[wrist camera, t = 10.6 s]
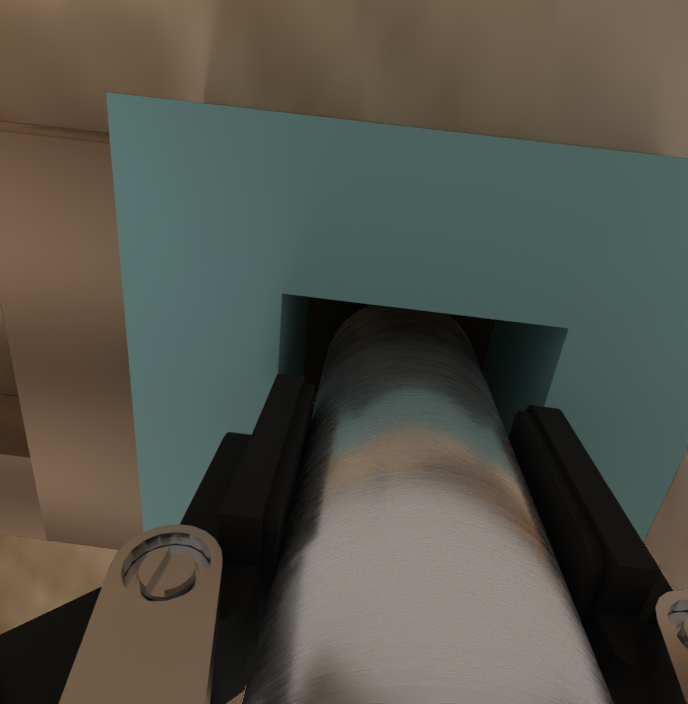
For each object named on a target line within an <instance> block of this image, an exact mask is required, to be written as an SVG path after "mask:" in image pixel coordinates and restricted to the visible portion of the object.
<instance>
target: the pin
mask: <svg viewBox="0 0 688 704" xmlns="http://www.w3.org/2000/svg"><path fill="white" fill-rule="evenodd" d="M242 704H614V703H613V700H612V698H611V695H610V693H609V690H608V688H607V685H606V683H605V680H604V678H603V675H602V673H601V670H600V668H599V665H598V662H597V660H596V657H595V655H594V652H593V650H592V647H591V645H590V642H589V640H588V637H587V635H586V632H585V630H584V627H583V625H582V622H581V620H580V617H579V615H578V612H577V610H576V607H575V605H574V602H573V600H572V597H571V594H570V592H569V589H568V587H567V584H566V582H565V579H564V577H563V574H562V572H561V569H560V567H559V564H558V562H557V559H556V557H555V554H554V552H553V549H552V547H551V544H550V542H549V539H548V537H547V534H546V532H545V529H544V526H543V524H542V521H541V519H540V516H539V514H538V511H537V509H536V506H535V504H534V501H533V499H532V496H531V494H530V491H529V489H528V486H527V484H526V481H525V479H524V476H523V474H522V471H521V469H520V466H519V464H518V461H517V458H516V456H515V453H514V451H513V448H512V446H511V443H510V441H509V438H508V436H507V433H506V431H505V428H504V426H503V423H502V421H501V418H500V416H499V413H498V411H497V408H496V406H495V403H494V401H493V398H492V396H491V393H490V390H489V388H488V385H487V383H486V380H485V378H484V375H483V373H482V370H481V368H480V365H479V363H478V360H477V358H476V355H475V353H474V350H473V348H472V345H471V343H470V341H469V339H468V336H467V335H466V333H465V332H464V330H463V329H462V327H461V326H460V325H459V324H458V323H457V322H456V321H455V320H454V319H453V318H452V317H451V316H450V315H448V314H446V313H438V312H430V311H422V310H414V309H405V308H397V307H389V306H381V305H370V306H367V307H365V308H363V309H361V310H360V311H358V312H356V313H355V314H353V315H352V316H351V317H350V318H348V319H347V320H346V321H345V322H344V323H343V324H342V325H341V327H340V328H339V329H338V330H337V332H336V333H335V335H334V337H333V339H332V341H331V343H330V345H329V348H328V351H327V355H326V359H325V363H324V368H323V372H322V376H321V380H320V384H319V388H318V392H317V397H316V401H315V405H314V409H313V413H312V421H311V425H310V429H309V433H308V438H307V442H306V446H305V450H304V454H303V459H302V463H301V467H300V471H299V475H298V480H297V484H296V488H295V492H294V496H293V501H292V505H291V509H290V513H289V517H288V522H287V526H286V530H285V534H284V538H283V543H282V547H281V551H280V555H279V559H278V564H277V568H276V572H275V576H274V579H273V582H272V584H271V587H270V591H269V595H268V599H267V604H266V608H265V612H264V616H263V620H262V624H261V628H260V633H259V637H258V641H257V645H256V649H255V653H254V657H253V662H252V666H251V670H250V674H249V678H248V682H247V686H246V690H245V695H244V699H243V703H242Z"/></svg>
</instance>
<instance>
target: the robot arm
mask: <svg viewBox="0 0 688 704" xmlns="http://www.w3.org/2000/svg"><path fill="white" fill-rule="evenodd" d="M313 399H314V385H310V384H305V377H302V376H294V375H286V374H277V376H276V378H275V380H274V383H273V385H272V387H271V390H270V392H269V395H268V397H267V399H266V402H265V404H264V407H263V409H262V411H261V414H260V416H259V418H258V421H257V423H256V426H255V428H254V430H253V433H252V435H251V434H243V433H235V432H228V433H226V434H225V436H224V437H223V439H222V441H221V443H220V445H219V447H218V449H217V451H216V453H215V455H214V457H213V459H212V461H211V463H210V465H209V467H208V469H207V471H206V473H205V475H204V477H203V479H202V481H201V483H200V485H199V487H198V489H197V491H196V493H195V495H194V497H193V499H192V501H191V503H190V505H189V507H188V509H187V511H186V513H185V515H184V517H183V519H182V521H181V522H180V524H174V525H166V526H160V527H157V528H154V529H151V530H148V531H145V532H143V533H141V534H139V535H138V536H136V537H134V538H133V539H131V540H129V541H128V542H127V543H126V544H125V545H124V546H123V547H122V548H121V549H120V550H119V551H118V552H117V554H116V556H115V557H114V559H113V561H112V563H111V564H110V567H109V569H108V572H107V575H106V577H105V580H104V583H103V586H102V587H100V588H98V589H96V590H94V591H92V592H89V593H87V594H85V595H83V596H81V597H79V598H77V599H75V600H73V601H70V602H68V603H66V604H64V605H62V606H60V607H58V608H56V609H54V610H52V611H49V612H47V613H45V614H43V615H41V616H39V617H37V618H35V619H33V620H30V621H28V622H26V623H24V624H22V625H20V626H18V627H16V628H14V629H11V630H9V631H7V632H5V633H3V634H1V635H0V704H226V703H227V702H229V701H230V700H231V699H233V698H234V697H236V696H237V695H238V694H240V693H241V692H243V691H244V690H245V686H246V684H247V682H248V678H249V674H250V670H251V666H252V662H253V657H254V653H255V649H256V645H257V641H258V637H259V633H260V628H261V624H262V620H263V616H264V612H265V608H266V604H267V599H268V595H269V591H270V587H271V584H272V582H273V579H274V576H275V572H276V568H277V564H278V559H279V555H280V551H281V547H282V543H283V538H284V534H285V530H286V526H287V522H288V517H289V513H290V509H291V505H292V501H293V496H294V492H295V488H296V484H297V480H298V475H299V471H300V467H301V463H302V459H303V454H304V450H305V446H306V442H307V438H308V433H309V429H310V425H311V421H312V410H313ZM509 441H510V443H511V446H512V448H513V451H514V453H515V456H516V458H517V461H518V464H519V466H520V469H521V471H522V474H523V476H524V479H525V481H526V484H527V486H528V489H529V491H530V494H531V496H532V499H533V501H534V504H535V506H536V509H537V511H538V514H539V516H540V519H541V521H542V524H543V526H544V529H545V532H546V534H547V537H548V539H549V542H550V544H551V547H552V549H553V552H554V554H555V557H556V559H557V562H558V564H559V567H560V569H561V572H562V574H563V577H564V579H565V582H566V584H567V587H568V589H569V592H570V594H571V597H572V600H573V602H574V605H575V607H576V610H577V612H578V615H579V617H580V620H581V622H582V625H583V627H584V630H585V632H586V635H587V637H588V640H589V642H590V645H591V647H592V650H593V652H594V655H595V657H596V660H597V662H598V665H599V668H600V670H601V673H602V675H603V678H604V680H605V683H606V685H607V688H608V690H609V693H610V695H611V698H612V700H613V703H614V704H688V591H683V590H678V591H673V590H672V588H671V587H670V585H669V584H668V582H667V580H666V579H665V577H664V576H663V574H662V572H661V570H660V568H659V567H658V565H657V564H656V562H655V560H654V559H653V557H652V556H651V554H650V552H649V551H648V549H647V547H646V546H645V544H644V543H643V541H642V539H641V538H640V536H639V535H638V533H637V531H636V530H635V528H634V527H633V525H632V523H631V522H630V520H629V519H628V517H627V515H626V514H625V512H624V510H623V509H622V507H621V506H620V504H619V502H618V501H617V499H616V498H615V496H614V494H613V493H612V491H611V490H610V488H609V486H608V485H607V483H606V482H605V480H604V478H603V477H602V475H601V473H600V472H599V470H598V469H597V467H596V465H595V464H594V462H593V461H592V459H591V457H590V456H589V454H588V453H587V451H586V449H585V448H584V446H583V444H582V443H581V441H580V440H579V438H578V436H577V435H576V433H575V432H574V430H573V428H572V427H571V425H570V424H569V422H568V420H567V419H566V417H565V416H564V414H563V412H562V411H561V410H560V409H558V408H551V407H543V406H535V405H529V406H528V407H527V408H526V410H525V411H518V412H517V413H516V415H515V418H514V421H513V424H512V428H511V431H510V435H509Z"/></svg>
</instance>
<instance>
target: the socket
mask: <svg viewBox="0 0 688 704" xmlns="http://www.w3.org/2000/svg"><path fill="white" fill-rule="evenodd" d="M106 102H107V114H108V125H109V137H110V148H111V160H112V172H113V183H114V195H115V207H116V218H117V230H118V241H119V253H120V265H121V276H122V288H123V299H124V311H125V323H126V334H127V346H128V358H129V369H130V381H131V392H132V404H133V416H134V427H135V439H136V450H137V462H138V474H139V485H140V497H141V508H142V520H143V532H145V531H148V530H151V529H154V528H157V527H160V526H166V525H174V524H180V522H181V521H182V519H183V517H184V515H185V513H186V511H187V509H188V507H189V505H190V503H191V501H192V499H193V497H194V495H195V493H196V491H197V489H198V487H199V485H200V483H201V481H202V479H203V477H204V475H205V473H206V471H207V469H208V467H209V465H210V463H211V461H212V459H213V457H214V455H215V453H216V451H217V449H218V447H219V445H220V443H221V441H222V439H223V437H224V436H225V434H226V433H228V432H235V433H243V434H251V435H252V433H253V430H254V428H255V426H256V423H257V421H258V418H259V416H260V414H261V411H262V409H263V407H264V404H265V402H266V399H267V397H268V395H269V392H270V390H271V387H272V385H273V383H274V380H275V378H276V376H277V374H286V375H294V376H302V377H303V373H304V360H305V347H306V334H307V321H308V309H309V297H315V298H323V299H331V300H340V301H348V302H356V303H364V304H372V305H381V306H389V307H397V308H405V309H414V310H422V311H430V312H438V313H446V314H455V315H463V316H471V317H479V318H488V319H495V323H494V327H493V331H492V335H491V339H490V343H489V347H488V351H487V355H486V359H485V363H484V367H483V371H482V373H483V375H484V378H485V380H486V383H487V385H488V388H489V390H490V393H491V396H492V398H493V401H494V403H495V406H496V408H497V411H498V413H499V416H500V418H501V421H502V423H503V426H504V428H505V431H506V433H507V436H508V438H509V435H510V431H511V428H512V424H513V421H514V418H515V415H516V413H517V412H518V411H525V410H526V408H527V407H528V406H529V405H535V406H543V407H551V408H558V409H560V410H561V411H562V412H563V414H564V416H565V417H566V419H567V420H568V422H569V424H570V425H571V427H572V428H573V430H574V432H575V433H576V435H577V436H578V438H579V440H580V441H581V443H582V444H583V446H584V448H585V449H586V451H587V453H588V454H589V456H590V457H591V459H592V461H593V462H594V464H595V465H596V467H597V469H598V470H599V472H600V473H601V475H602V477H603V478H604V480H605V482H606V483H607V485H608V486H609V488H610V490H611V491H612V493H613V494H614V496H615V498H616V499H617V501H618V502H619V504H620V506H621V507H622V509H623V510H624V512H625V514H626V515H627V517H628V519H629V520H630V522H631V523H632V525H633V527H634V528H635V530H636V531H637V533H638V535H639V536H640V538H641V539H642V541H643V542H644V540H645V538H646V536H647V534H648V532H649V529H650V527H651V525H652V523H653V521H654V519H655V517H656V515H657V513H658V511H659V508H660V506H661V504H662V502H663V500H664V498H665V496H666V494H667V492H668V490H669V487H670V485H671V483H672V481H673V479H674V477H675V475H676V473H677V471H678V468H679V466H680V464H681V462H682V460H683V458H684V456H685V454H686V452H687V450H688V158H679V157H670V156H661V155H653V154H644V153H635V152H626V151H618V150H609V149H600V148H591V147H583V146H574V145H565V144H556V143H548V142H539V141H530V140H521V139H513V138H504V137H495V136H486V135H477V134H469V133H460V132H451V131H442V130H434V129H425V128H416V127H407V126H399V125H390V124H381V123H372V122H364V121H355V120H346V119H337V118H329V117H320V116H311V115H302V114H293V113H285V112H276V111H267V110H258V109H250V108H241V107H232V106H223V105H215V104H206V103H197V102H188V101H180V100H171V99H162V98H153V97H144V96H136V95H127V94H118V93H109V92H106ZM312 413H313V410H312Z"/></svg>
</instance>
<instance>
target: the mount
mask: <svg viewBox="0 0 688 704" xmlns="http://www.w3.org/2000/svg"><path fill="white" fill-rule="evenodd" d="M0 305H1V310H2V315H3V320H4V325H5V330H6V335H7V340H8V345H9V350H10V356H11V361H12V366H13V371H14V376H15V381H16V386H17V391H18V396H19V397H17V396H9V395H1V394H0V534H4V535H11V536H19V537H27V538H34V539H42V540H49V541H57V542H64V543H72V544H79V545H87V546H94V547H102V548H109V549H117V550H120V549H121V548H122V547H123V546H124V545H125V544H126V543H127V542H128V541H129V540H131V539H133V538H134V537H136V536H138V535H139V534H141V533H143V520H142V508H141V497H140V485H139V474H138V462H137V450H136V439H135V427H134V416H133V404H132V392H131V381H130V369H129V358H128V346H127V334H126V323H125V311H124V299H123V288H122V276H121V265H120V253H119V241H118V230H117V218H116V207H115V195H114V183H113V172H112V160H111V148H110V137H109V134H108V133H100V132H91V131H83V130H74V129H65V128H57V127H48V126H39V125H31V124H22V123H13V122H5V121H0Z"/></svg>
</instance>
